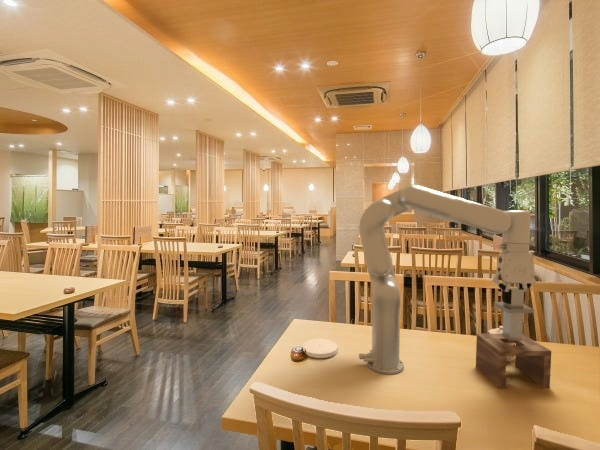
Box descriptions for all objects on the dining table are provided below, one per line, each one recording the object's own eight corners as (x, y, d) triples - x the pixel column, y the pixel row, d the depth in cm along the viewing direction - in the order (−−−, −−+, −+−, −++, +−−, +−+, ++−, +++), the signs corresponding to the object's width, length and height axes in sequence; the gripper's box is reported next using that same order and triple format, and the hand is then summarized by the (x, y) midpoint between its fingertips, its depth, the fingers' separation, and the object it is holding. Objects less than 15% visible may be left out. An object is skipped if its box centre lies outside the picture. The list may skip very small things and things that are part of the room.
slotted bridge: (498, 388, 106) (500, 351, 105) (475, 366, 120) (476, 333, 119) (549, 388, 106) (551, 351, 105) (520, 366, 120) (521, 333, 119)
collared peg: (507, 343, 108) (509, 291, 107) (493, 333, 116) (494, 285, 115) (532, 343, 108) (534, 291, 107) (516, 333, 116) (518, 285, 115)
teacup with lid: (518, 363, 122) (520, 332, 121) (490, 360, 124) (491, 329, 123) (508, 349, 133) (509, 321, 132) (483, 347, 136) (483, 318, 135)
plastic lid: (336, 361, 125) (336, 355, 124) (299, 359, 127) (299, 352, 127) (338, 345, 138) (338, 339, 138) (305, 343, 141) (305, 337, 141)
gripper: (496, 249, 106) (494, 306, 107) (549, 249, 106) (546, 306, 107) (483, 246, 113) (481, 299, 115) (533, 246, 113) (530, 299, 115)
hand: (513, 302), depth 111 cm, fingers closed on collared peg, 4 cm apart
